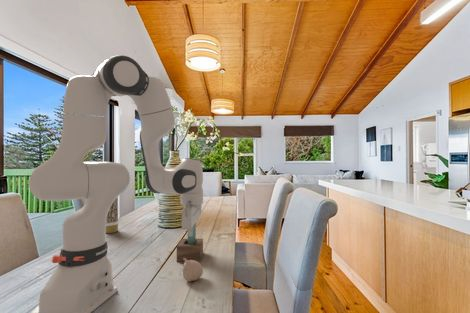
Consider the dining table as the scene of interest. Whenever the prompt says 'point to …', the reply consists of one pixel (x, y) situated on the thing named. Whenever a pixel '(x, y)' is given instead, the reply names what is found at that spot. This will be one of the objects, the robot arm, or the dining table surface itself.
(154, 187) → the robot arm
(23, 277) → the dining table surface
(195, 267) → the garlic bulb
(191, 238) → the peg
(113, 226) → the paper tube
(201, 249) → the socket block
